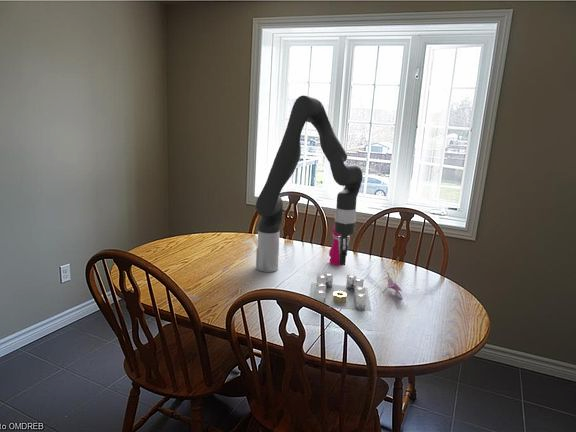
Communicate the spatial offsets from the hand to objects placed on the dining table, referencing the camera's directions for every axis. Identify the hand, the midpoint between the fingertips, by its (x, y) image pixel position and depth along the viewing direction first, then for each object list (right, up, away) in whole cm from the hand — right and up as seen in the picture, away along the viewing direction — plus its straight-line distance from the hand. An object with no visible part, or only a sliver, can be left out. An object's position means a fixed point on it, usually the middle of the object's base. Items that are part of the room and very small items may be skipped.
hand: (342, 264), depth 153 cm
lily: (+19, -13, +4) cm, 24 cm away
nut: (-2, -12, -5) cm, 13 cm away
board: (-2, -14, -7) cm, 16 cm away
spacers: (-1, -12, -2) cm, 12 cm away
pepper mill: (+2, -4, +36) cm, 36 cm away
